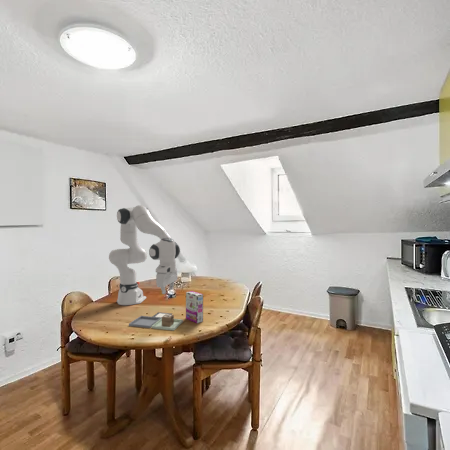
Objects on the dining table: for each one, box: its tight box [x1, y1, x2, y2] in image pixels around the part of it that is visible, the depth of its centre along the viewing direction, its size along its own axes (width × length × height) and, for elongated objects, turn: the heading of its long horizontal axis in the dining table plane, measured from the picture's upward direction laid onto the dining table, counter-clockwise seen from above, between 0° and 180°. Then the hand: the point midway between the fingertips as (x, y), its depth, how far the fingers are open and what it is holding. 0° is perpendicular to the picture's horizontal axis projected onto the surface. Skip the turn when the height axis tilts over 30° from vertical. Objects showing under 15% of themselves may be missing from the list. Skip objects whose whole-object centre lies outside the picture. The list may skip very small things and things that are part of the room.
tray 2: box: [151, 318, 184, 331], centre depth 156 cm, size 13×13×2 cm
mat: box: [151, 311, 173, 318], centre depth 171 cm, size 10×10×1 cm
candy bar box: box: [185, 290, 204, 324], centre depth 164 cm, size 11×5×16 cm, turn 44°
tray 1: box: [128, 315, 161, 329], centre depth 159 cm, size 13×13×2 cm
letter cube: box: [162, 314, 175, 327], centre depth 156 cm, size 5×5×5 cm
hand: (167, 291), depth 156 cm, fingers open, 8 cm apart
